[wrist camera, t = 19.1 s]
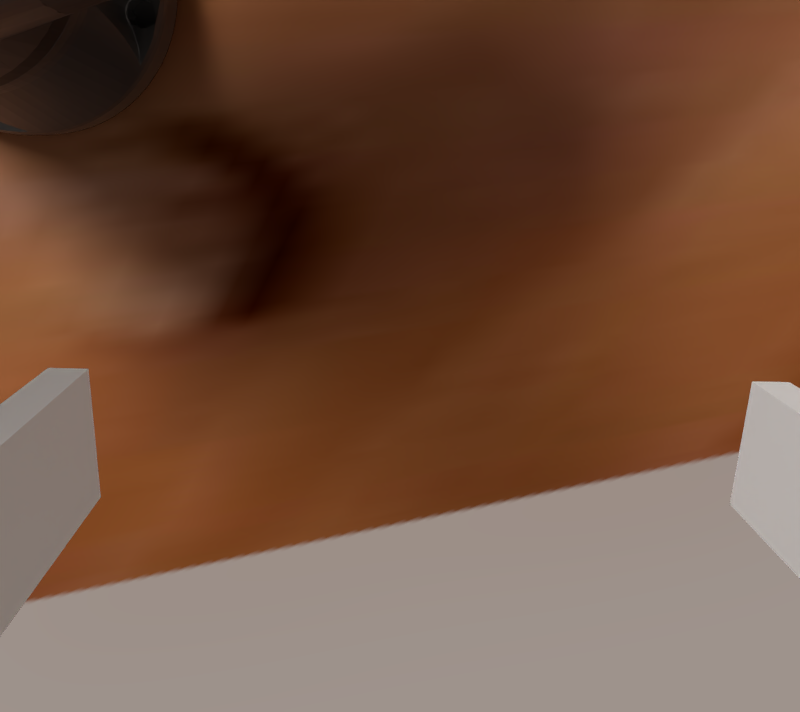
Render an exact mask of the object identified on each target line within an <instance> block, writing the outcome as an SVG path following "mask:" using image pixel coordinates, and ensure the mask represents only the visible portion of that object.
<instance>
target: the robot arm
mask: <svg viewBox="0 0 800 712" xmlns="http://www.w3.org/2000/svg"><path fill="white" fill-rule="evenodd" d="M176 12H177V0H0V132H4V133H10V134H18V135H53V134H64V133H70V132H75V131H80V130H84V129H87V128H90V127H93V126H95V125H97V124H100V123H102V122H104V121H106V120H108V119H110V118H112V117H113V116H115V115H116V114H118V113H119V112H121V111H122V110H124V109H125V108H126V107H127V106H129V105H130V104H131V103H132V102H133V101H134V100H135V99H136V98H137V97H138V96H139V95H140V94H141V93H142V92H143V91H144V90H145V88H146V87H147V86H148V85H149V83H150V82H151V81H152V79H153V77H154V76H155V74H156V73H157V71H158V69H159V67H160V66H161V64H162V62H163V59H164V57H165V55H166V53H167V50H168V47H169V44H170V41H171V38H172V34H173V30H174V25H175V20H176ZM100 497H101V495H100V485H99V474H98V464H97V453H96V443H95V432H94V422H93V412H92V401H91V391H90V380H89V370H88V369H71V368H47V369H46V370H45V371H43V372H42V373H41V374H40V375H38V376H37V377H36V378H34V379H33V380H32V381H30V382H29V383H28V384H26V385H25V386H24V387H22V388H21V389H20V390H19V391H17V392H16V393H15V394H13V395H12V396H11V397H9V398H8V399H7V400H5V401H4V402H3V403H1V404H0V636H1V635H2V633H3V632H4V631H5V629H6V628H7V626H8V625H9V623H10V622H11V621H12V619H13V618H14V617H15V615H16V614H17V613H18V611H19V610H20V608H21V607H22V606H23V604H24V603H25V601H26V600H27V599H28V597H29V596H30V594H31V593H32V592H33V590H34V589H35V588H36V586H37V585H38V583H39V582H40V581H41V579H42V578H43V576H44V575H45V574H46V572H47V571H48V569H49V568H50V567H51V565H52V564H53V563H54V561H55V560H56V558H57V557H58V556H59V554H60V553H61V551H62V550H63V549H64V547H65V546H66V544H67V543H68V542H69V540H70V539H71V538H72V536H73V535H74V533H75V532H76V531H77V529H78V528H79V526H80V525H81V524H82V522H83V521H84V519H85V518H86V517H87V515H88V514H89V513H90V511H91V510H92V508H93V507H94V506H95V504H96V503H97V501H98V500H99V499H100ZM730 505H731V506H732V507H733V508H734V509H735V510H736V511H737V512H738V513H739V515H740V516H741V517H742V518H743V519H744V520H745V521H746V522H747V523H748V524H749V525H750V526H751V527H752V528H753V529H754V530H755V532H756V533H757V534H758V535H759V536H760V537H761V538H762V539H763V540H764V541H765V542H766V543H767V544H768V545H769V546H770V547H771V549H773V551H774V552H775V553H776V554H777V555H778V556H779V557H780V558H781V559H782V560H783V561H784V562H785V564H787V566H788V567H789V568H790V569H791V570H792V571H793V572H794V573H795V574H796V575H797V576H798V577H799V578H800V389H799V388H798V387H796V386H795V385H793V384H791V383H790V382H752V386H751V391H750V396H749V402H748V407H747V413H746V418H745V424H744V429H743V435H742V440H741V446H740V451H739V457H738V462H737V468H736V473H735V478H734V484H733V489H732V495H731V501H730Z"/></svg>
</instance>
